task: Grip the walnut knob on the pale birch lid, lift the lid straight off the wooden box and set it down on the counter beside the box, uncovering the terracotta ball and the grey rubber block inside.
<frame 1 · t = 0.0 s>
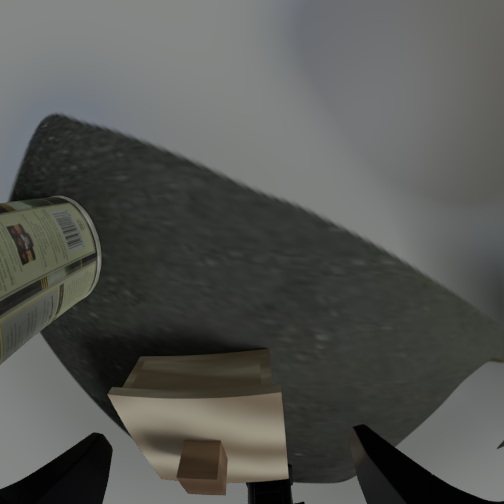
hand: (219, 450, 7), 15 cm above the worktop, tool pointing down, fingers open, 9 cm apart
box: (213, 401, 24), on the worktop
lid: (208, 435, 19), point 5 cm above the worktop, touching box
coffee can: (61, 250, 21), on the worktop
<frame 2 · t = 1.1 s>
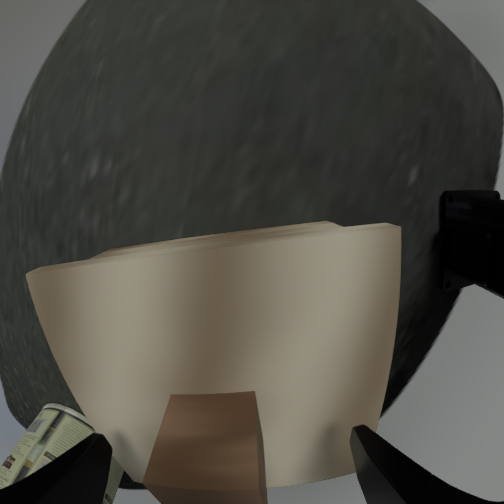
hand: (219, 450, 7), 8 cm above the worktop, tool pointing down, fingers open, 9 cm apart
box: (228, 338, 15), on the worktop
lid: (222, 391, 10), point 5 cm above the worktop, touching box
coffee can: (84, 438, 18), on the worktop
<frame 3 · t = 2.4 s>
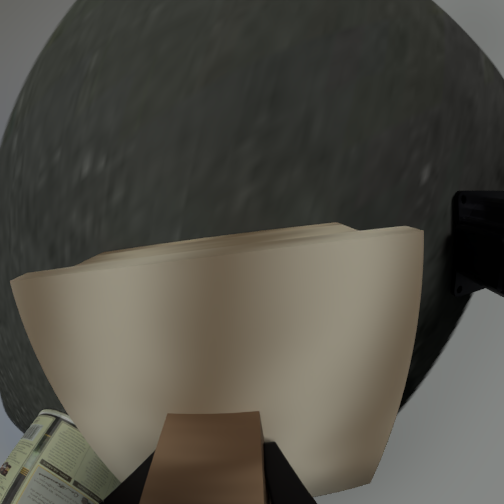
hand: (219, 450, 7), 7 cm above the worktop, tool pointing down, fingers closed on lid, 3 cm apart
box: (230, 347, 14), on the worktop
lid: (224, 407, 9), point 5 cm above the worktop, touching box, gripper
coffee can: (81, 444, 17), on the worktop
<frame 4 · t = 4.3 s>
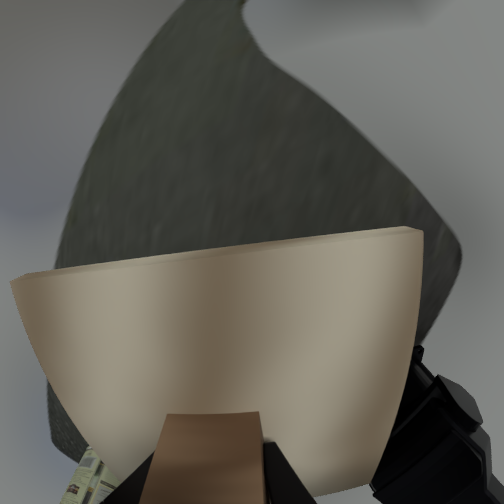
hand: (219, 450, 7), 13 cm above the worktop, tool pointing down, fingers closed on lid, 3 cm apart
lid: (223, 407, 9), point 11 cm above the worktop, touching gripper
coffee can: (118, 464, 26), on the worktop
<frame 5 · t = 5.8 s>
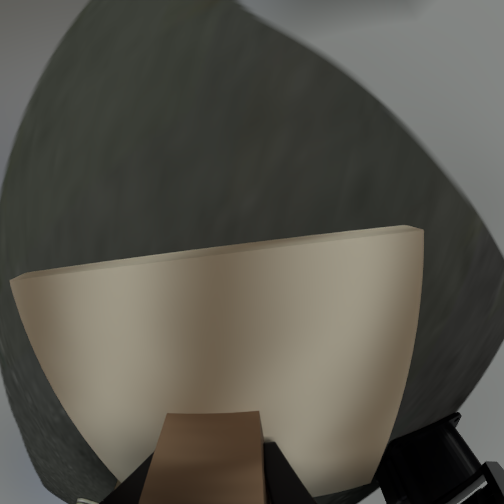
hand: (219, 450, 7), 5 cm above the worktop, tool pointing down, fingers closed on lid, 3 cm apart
lid: (223, 407, 9), point 2 cm above the worktop, touching gripper
when the fingers open (4 cm above the worktop, at t = 6.6 s): lid drops 2 cm, on the worktop.
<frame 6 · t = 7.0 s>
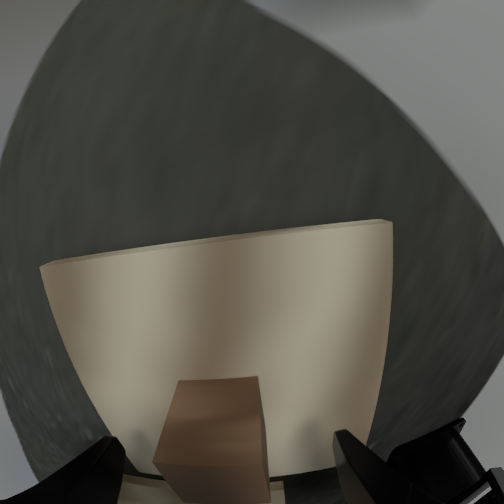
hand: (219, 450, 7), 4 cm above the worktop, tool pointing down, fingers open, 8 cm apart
lid: (226, 379, 11), on the worktop
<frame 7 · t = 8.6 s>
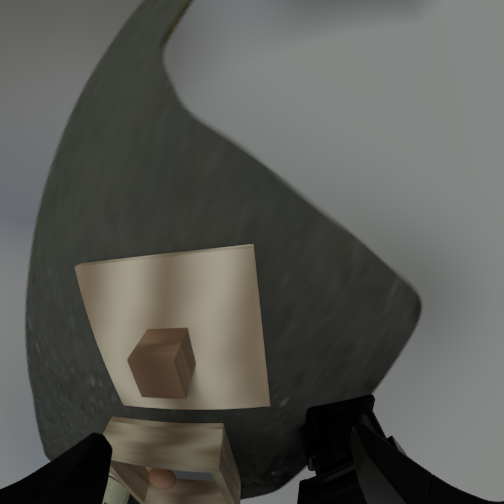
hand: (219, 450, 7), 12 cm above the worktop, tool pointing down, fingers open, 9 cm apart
box: (179, 454, 23), on the worktop
lid: (177, 334, 20), on the worktop
rubber block: (194, 448, 22), point 1 cm above the worktop, touching box
terracotta ball: (164, 468, 23), point 1 cm above the worktop, touching box
coffee can: (103, 477, 26), on the worktop
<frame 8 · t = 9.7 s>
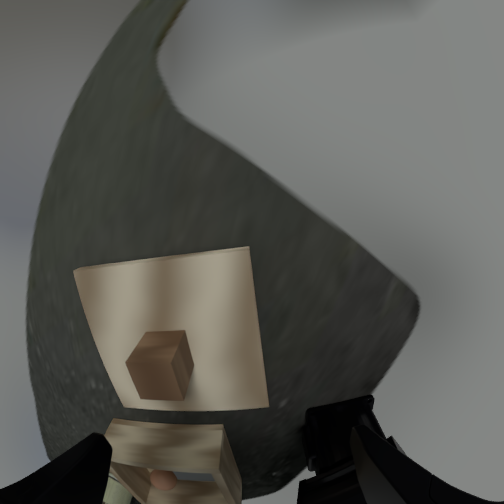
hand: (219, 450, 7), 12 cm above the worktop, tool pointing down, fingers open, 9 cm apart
box: (180, 455, 23), on the worktop
lid: (175, 336, 20), on the worktop
rubber block: (195, 450, 22), point 1 cm above the worktop, touching box
terracotta ball: (165, 469, 23), point 1 cm above the worktop, touching box
coffee can: (105, 479, 26), on the worktop
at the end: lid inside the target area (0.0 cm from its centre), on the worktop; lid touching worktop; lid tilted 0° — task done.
